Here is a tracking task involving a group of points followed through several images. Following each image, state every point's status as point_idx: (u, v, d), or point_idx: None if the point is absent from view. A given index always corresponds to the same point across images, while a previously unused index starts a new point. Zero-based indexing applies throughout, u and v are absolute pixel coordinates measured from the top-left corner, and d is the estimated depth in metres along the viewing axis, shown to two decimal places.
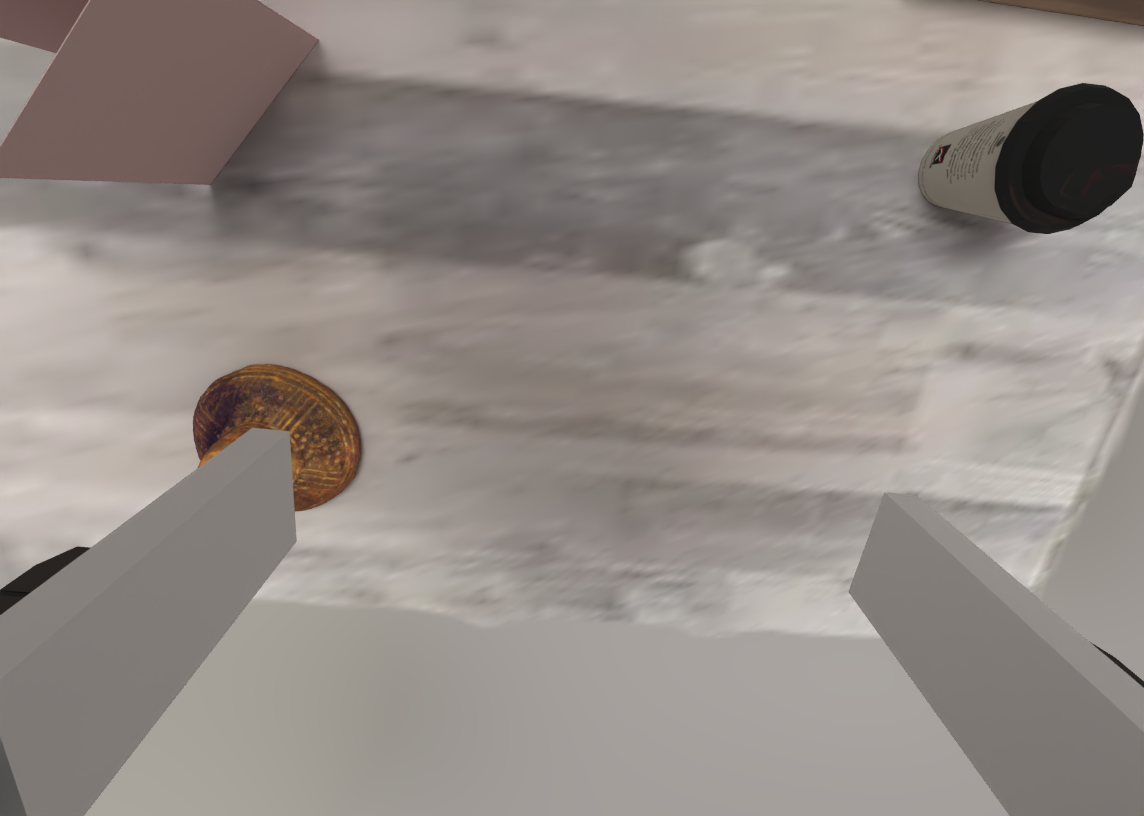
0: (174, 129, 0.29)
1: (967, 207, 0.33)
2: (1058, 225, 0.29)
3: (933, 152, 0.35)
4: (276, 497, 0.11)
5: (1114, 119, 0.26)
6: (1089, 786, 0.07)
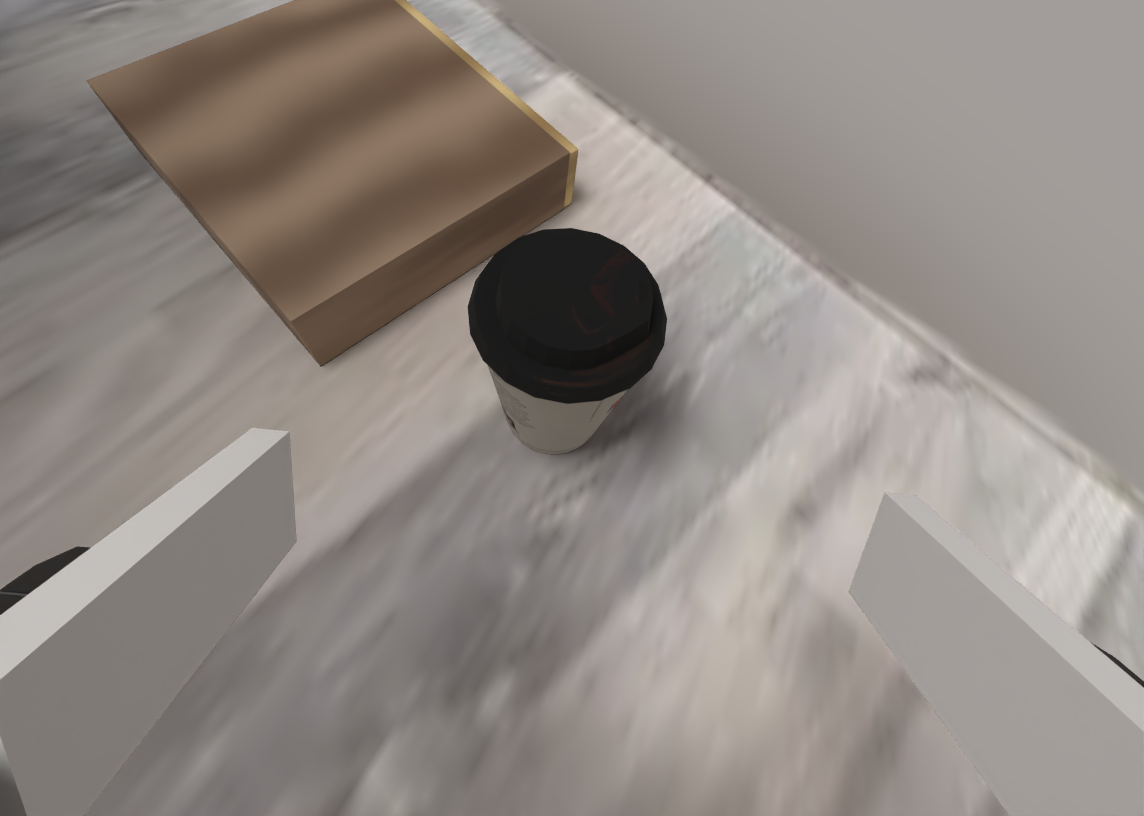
0: None
1: (575, 427, 0.22)
2: (642, 354, 0.18)
3: (508, 420, 0.26)
4: (276, 497, 0.11)
5: (543, 247, 0.19)
6: (1089, 786, 0.07)
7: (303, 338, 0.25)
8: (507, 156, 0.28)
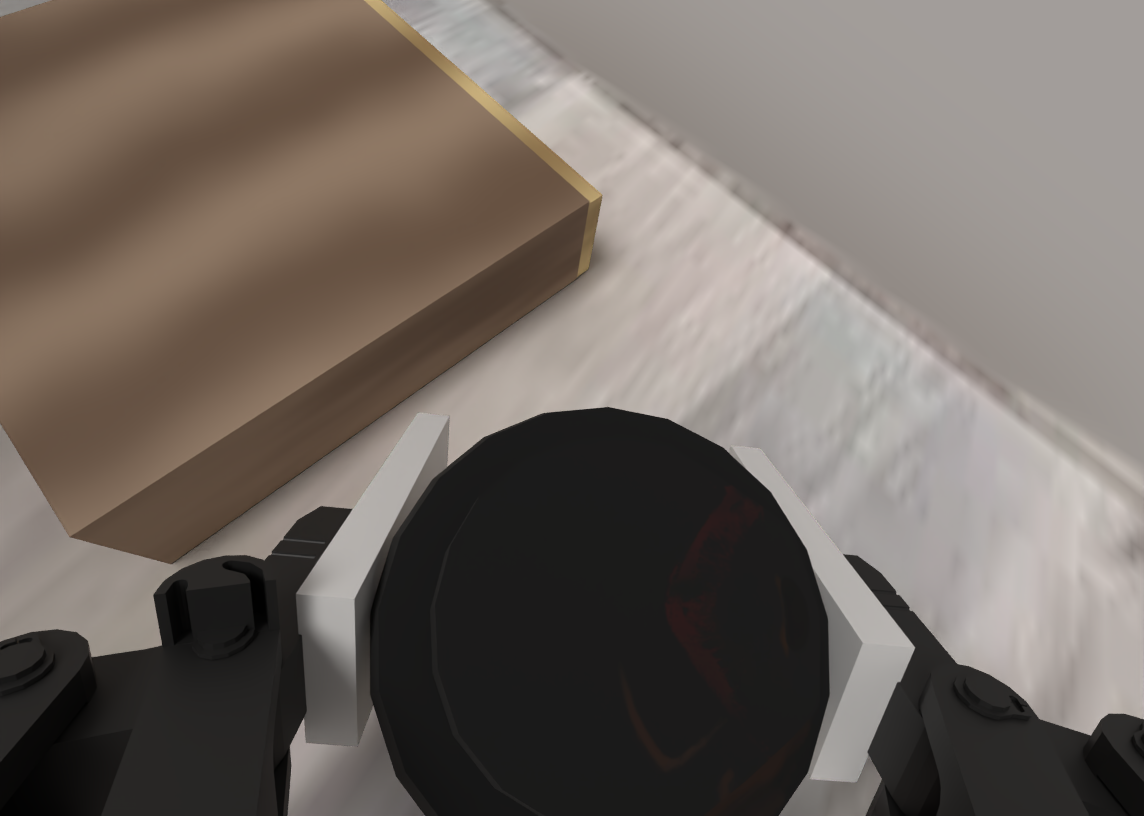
0: None
1: None
2: (792, 765, 0.07)
3: None
4: None
5: (547, 490, 0.08)
6: None
7: (114, 546, 0.14)
8: (488, 209, 0.17)
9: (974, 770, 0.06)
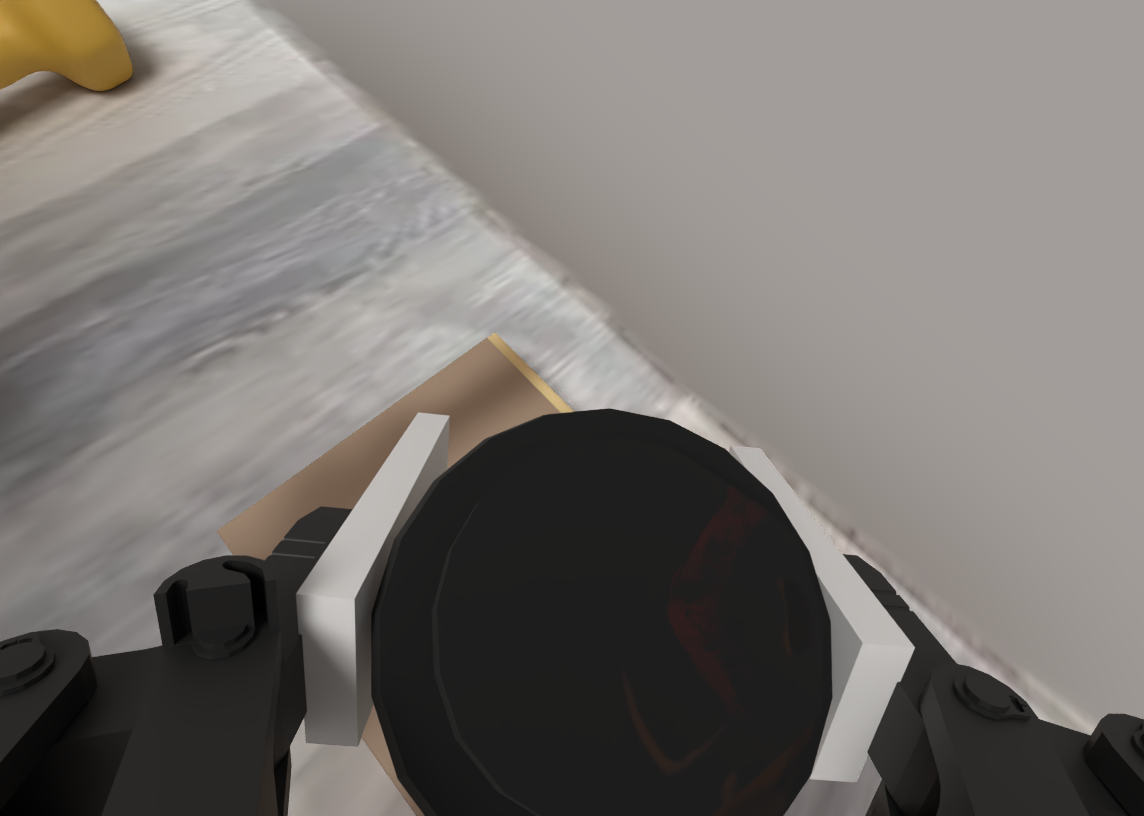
0: None
1: None
2: (795, 768, 0.07)
3: None
4: (441, 472, 0.13)
5: (549, 492, 0.08)
6: None
7: None
8: None
9: (974, 770, 0.06)
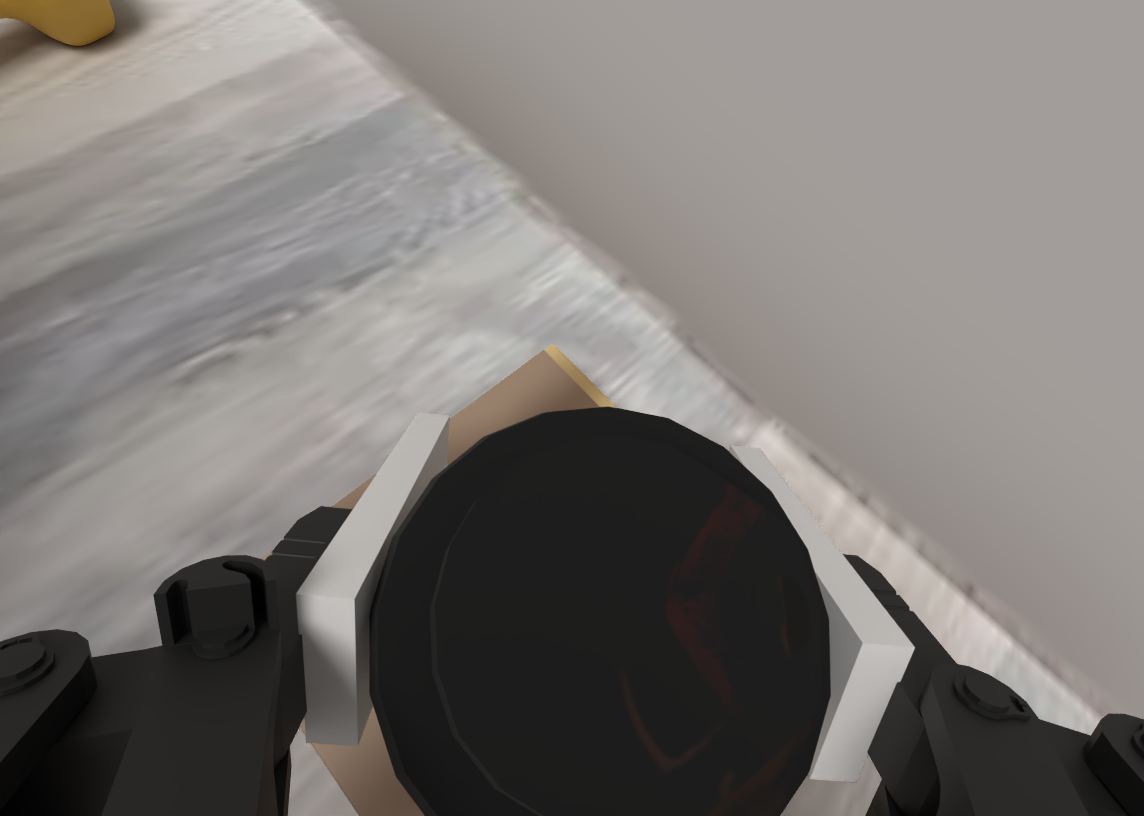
0: None
1: None
2: (793, 765, 0.07)
3: None
4: None
5: (547, 490, 0.08)
6: None
7: None
8: None
9: (974, 770, 0.06)
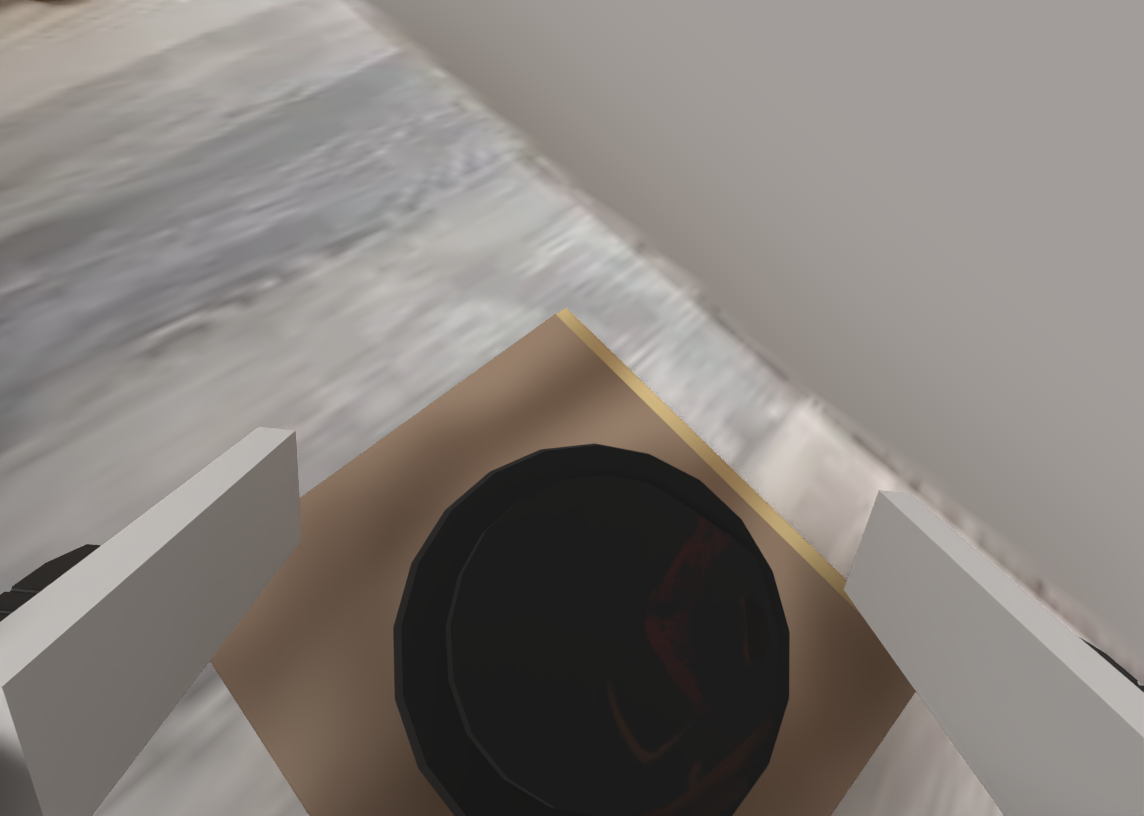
0: None
1: None
2: (755, 758, 0.09)
3: None
4: (282, 495, 0.11)
5: (545, 524, 0.09)
6: (1078, 780, 0.07)
7: None
8: (835, 699, 0.18)
9: None
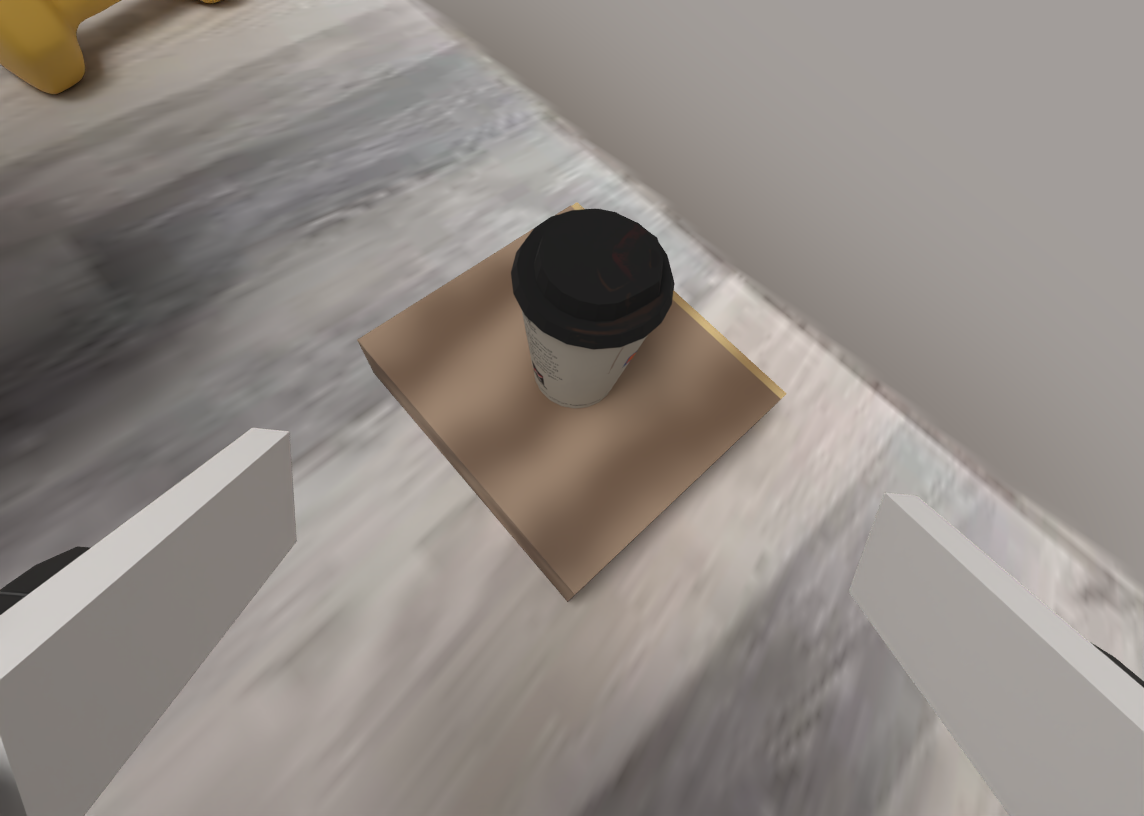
0: None
1: (596, 378, 0.26)
2: (654, 309, 0.22)
3: (536, 378, 0.30)
4: (276, 497, 0.11)
5: (573, 223, 0.23)
6: (1089, 786, 0.07)
7: (572, 596, 0.28)
8: (728, 406, 0.31)
9: None
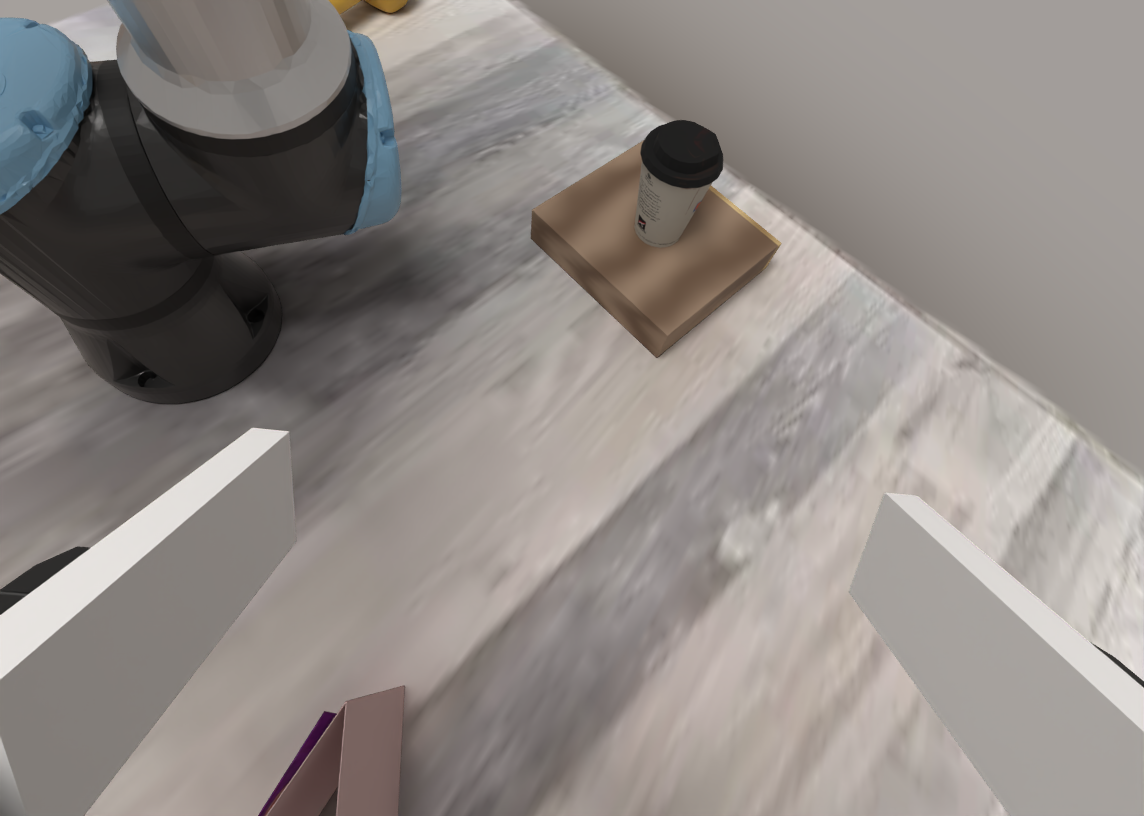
0: None
1: (679, 217, 0.48)
2: (715, 169, 0.45)
3: (638, 228, 0.52)
4: (276, 497, 0.11)
5: (673, 126, 0.45)
6: (1089, 786, 0.07)
7: (663, 343, 0.50)
8: (747, 248, 0.54)
9: None
